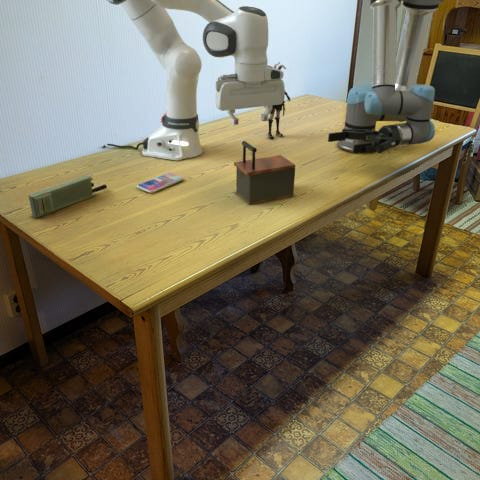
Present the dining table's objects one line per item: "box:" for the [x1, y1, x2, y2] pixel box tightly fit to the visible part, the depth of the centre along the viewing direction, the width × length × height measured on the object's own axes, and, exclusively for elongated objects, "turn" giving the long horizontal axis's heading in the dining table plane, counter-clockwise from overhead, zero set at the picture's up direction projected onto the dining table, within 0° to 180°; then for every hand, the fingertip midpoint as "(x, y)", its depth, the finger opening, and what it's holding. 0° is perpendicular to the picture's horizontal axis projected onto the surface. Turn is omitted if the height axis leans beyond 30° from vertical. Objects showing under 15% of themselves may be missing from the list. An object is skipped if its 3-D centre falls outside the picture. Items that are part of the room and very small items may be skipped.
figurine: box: [263, 61, 291, 140], centre depth 201 cm, size 15×6×30 cm, turn 132°
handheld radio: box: [28, 173, 108, 219], centre depth 150 cm, size 7×3×25 cm
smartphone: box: [136, 172, 184, 194], centre depth 164 cm, size 7×1×15 cm
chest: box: [235, 167, 296, 205], centre depth 156 cm, size 15×9×10 cm, turn 115°
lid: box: [233, 140, 296, 176], centre depth 152 cm, size 16×9×8 cm, turn 115°
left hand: (249, 122), depth 145 cm, fingers open, 8 cm apart
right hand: (341, 143), depth 161 cm, fingers open, 13 cm apart
